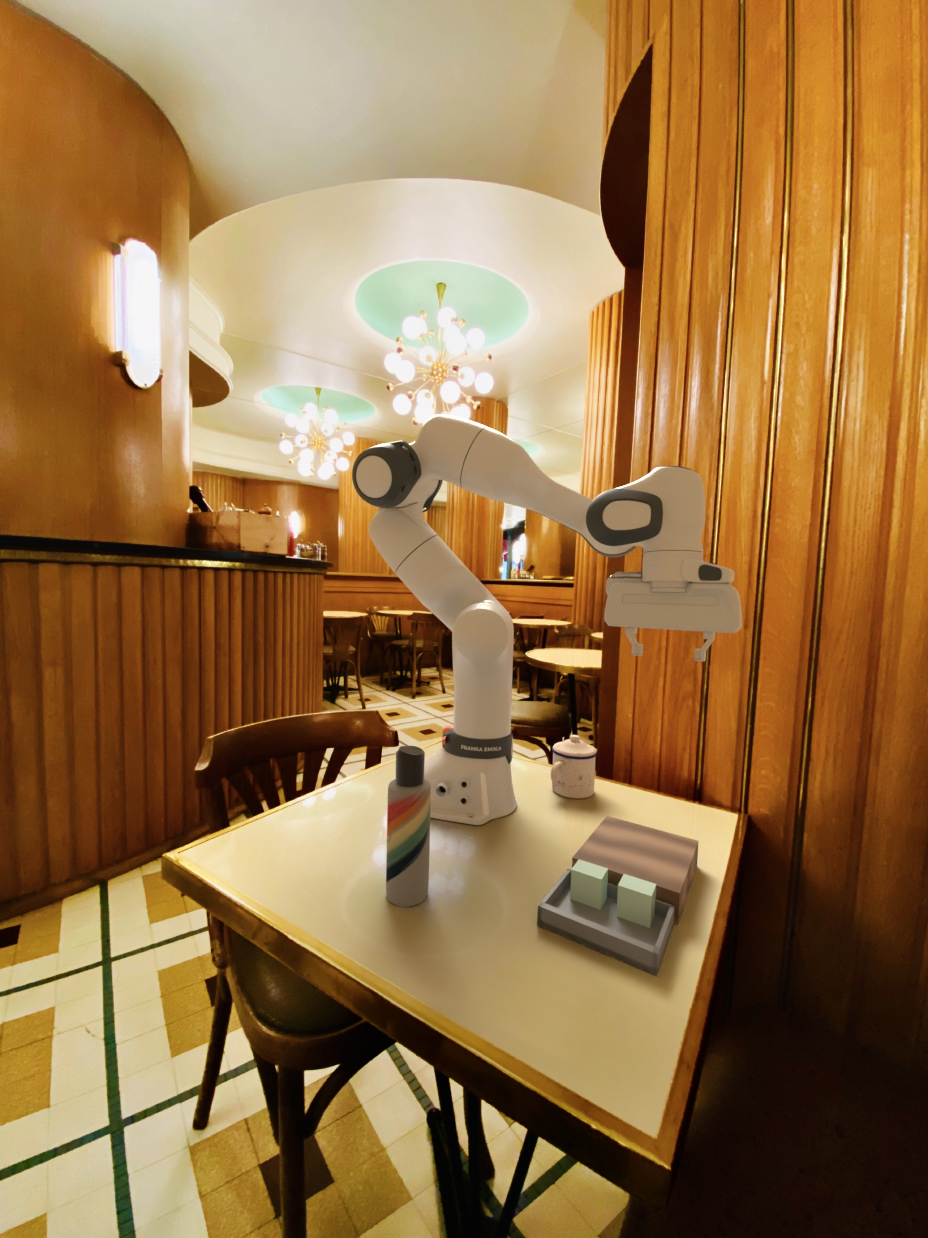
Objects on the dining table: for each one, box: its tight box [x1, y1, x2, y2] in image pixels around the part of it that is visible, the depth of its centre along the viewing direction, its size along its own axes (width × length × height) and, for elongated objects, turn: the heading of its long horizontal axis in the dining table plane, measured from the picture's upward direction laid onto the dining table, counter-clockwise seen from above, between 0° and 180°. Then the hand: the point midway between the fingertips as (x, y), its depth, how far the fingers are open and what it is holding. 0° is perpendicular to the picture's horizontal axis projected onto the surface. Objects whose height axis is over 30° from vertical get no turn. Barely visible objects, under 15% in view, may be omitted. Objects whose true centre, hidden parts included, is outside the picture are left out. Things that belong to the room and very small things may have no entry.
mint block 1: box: [570, 859, 608, 910], centre depth 64 cm, size 4×4×3 cm
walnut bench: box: [571, 815, 699, 925], centre depth 72 cm, size 16×14×4 cm
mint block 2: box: [617, 874, 656, 928], centre depth 61 cm, size 4×4×3 cm
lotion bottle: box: [385, 745, 431, 908], centre depth 65 cm, size 6×6×20 cm
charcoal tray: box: [536, 868, 675, 977], centre depth 61 cm, size 10×14×2 cm
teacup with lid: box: [550, 734, 598, 800], centre depth 101 cm, size 12×9×12 cm
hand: (667, 657), depth 79 cm, fingers open, 8 cm apart
